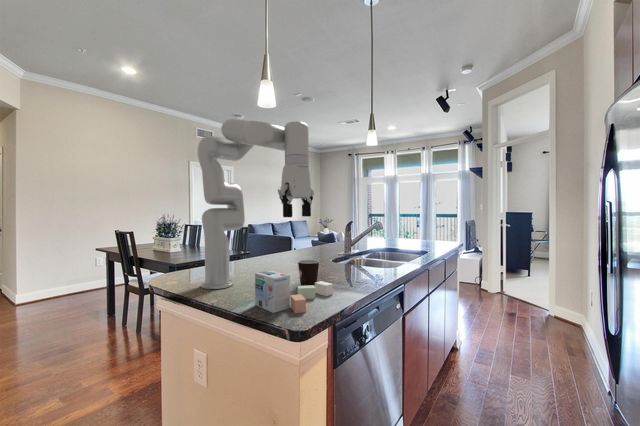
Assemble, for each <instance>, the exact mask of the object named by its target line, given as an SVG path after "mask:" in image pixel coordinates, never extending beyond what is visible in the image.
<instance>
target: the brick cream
mask: <svg viewBox="0 0 640 426" xmlns="http://www.w3.org/2000/svg"><path fill="white" fill-rule="evenodd" d="M315 294H318V295H321V296H324V297H329V296H331V295H333V294H334V283H330V282H327V281H324V280H320V281H317V282H315Z"/></svg>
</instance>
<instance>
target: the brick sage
mask: <svg viewBox="0 0 640 426" xmlns="http://www.w3.org/2000/svg"><path fill="white" fill-rule="evenodd" d="M296 289H297V292H296V293H297V294H296V295H298V294H301V295H302V296H303V297H304V298H305V299H306V300H313V299H314V300H316V293H315V286H314V285H309V286H301V285H297V287H296Z"/></svg>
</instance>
